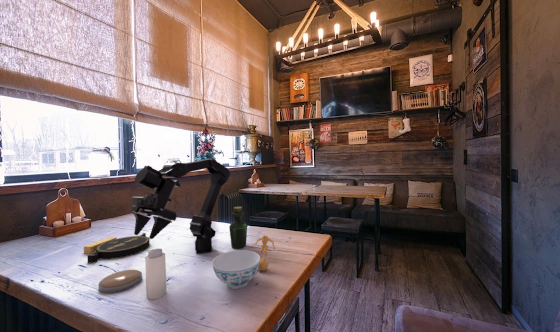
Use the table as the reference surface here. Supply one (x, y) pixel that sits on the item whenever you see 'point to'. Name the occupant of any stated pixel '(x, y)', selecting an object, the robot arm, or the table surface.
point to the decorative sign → (116, 247)
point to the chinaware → (236, 267)
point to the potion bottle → (238, 230)
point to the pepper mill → (155, 274)
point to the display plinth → (120, 281)
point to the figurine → (263, 262)
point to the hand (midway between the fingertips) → (143, 236)
